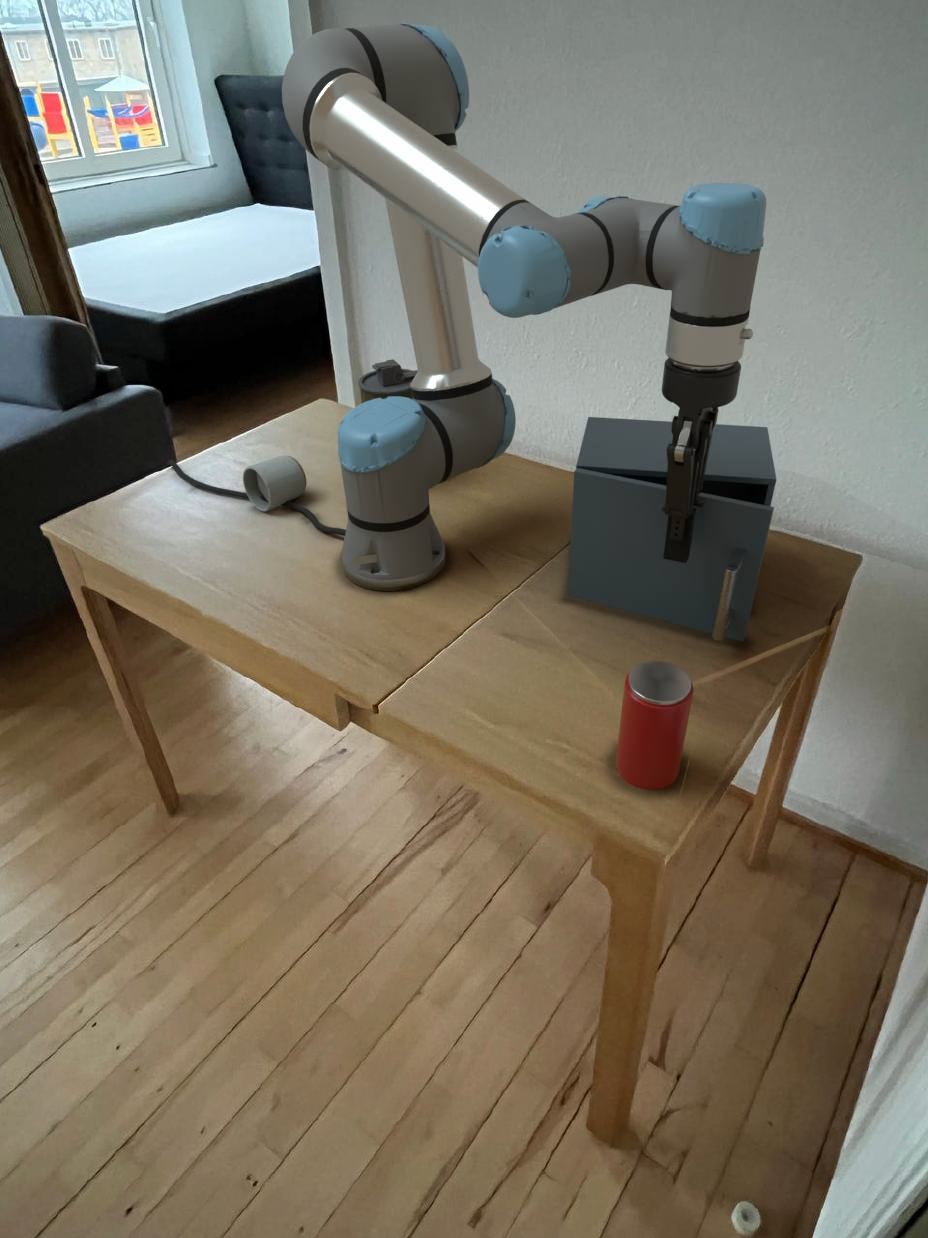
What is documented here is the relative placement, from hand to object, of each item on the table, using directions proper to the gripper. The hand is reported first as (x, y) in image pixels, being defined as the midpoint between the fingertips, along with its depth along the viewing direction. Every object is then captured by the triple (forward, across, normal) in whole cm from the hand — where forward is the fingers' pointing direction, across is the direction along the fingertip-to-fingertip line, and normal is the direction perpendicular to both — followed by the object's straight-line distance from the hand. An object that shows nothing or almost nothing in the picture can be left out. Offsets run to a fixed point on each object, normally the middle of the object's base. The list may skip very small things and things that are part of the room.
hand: (676, 557), depth 96 cm
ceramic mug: (+12, +11, +70) cm, 72 cm away
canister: (+12, +27, +54) cm, 62 cm away
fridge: (+13, +15, +5) cm, 20 cm away
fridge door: (+12, +1, +3) cm, 13 cm away
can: (+13, -21, -4) cm, 25 cm away
